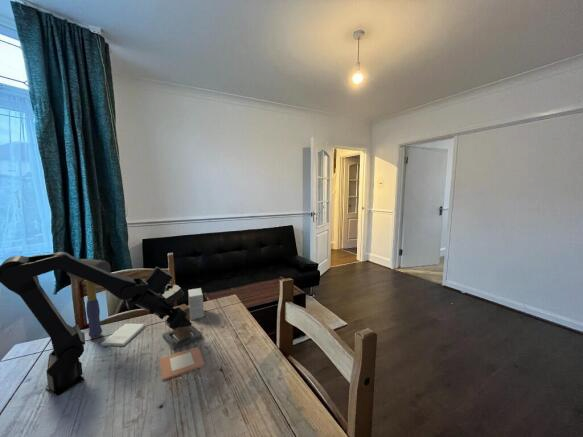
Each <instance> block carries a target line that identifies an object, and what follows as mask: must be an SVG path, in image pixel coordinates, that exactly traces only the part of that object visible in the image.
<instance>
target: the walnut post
mask: <svg viewBox="0 0 583 437" xmlns="http://www.w3.org/2000/svg"><path fill="white" fill-rule="evenodd" d="M178 307H179V308H181V309H183V310H184V311H185V312H186V313H187V314H186V316H185V317H186V318H187V319H188V320H189V321H190V322H191V320H190V308H189V305H187V304H185V303H182V304H180V305H177V306H173V308H174V309H175V308H178ZM191 336H193V334H192V333H191V329H190V326H188V327H179V328H177V329H175V330H174V335H173V336H172V339H173V340H174V341H175V342H176V343H177V342H179V341H182V340H184V339H186V338H188V337H191Z"/></svg>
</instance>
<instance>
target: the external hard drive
mask: <svg viewBox="0 0 583 437" xmlns="http://www.w3.org/2000/svg"><path fill="white" fill-rule="evenodd" d="M145 327H146V324H145V323H124V324H123V325H122V326H121V327H120V328H118V329H117V330H116V331H115V332H114V333H112V334H111V335H110V336H108V337H107V338H105V340H103V341H102V342H101V343H100V344H101V346H104V347H105V346H106V347H107V346H110V347H111V346H113V347H124V346H125V345H127V344H128V343H129V342H130V341H131V340H132V339H133V338H134V337H135V336H136V335H138V334H139V333H140V331H142V330H143V329H144V328H145Z"/></svg>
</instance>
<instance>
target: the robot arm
mask: <svg viewBox="0 0 583 437" xmlns="http://www.w3.org/2000/svg"><path fill="white" fill-rule="evenodd" d="M80 259H81V258H77V257H75V256H73V255H71V254H69V253H68V252H66V251H59V252H58V251H57V252H54V253H48V254H47V253H46V254H45V253H44V254H38V255H37V254H36V255H31V256H24V255H14V256H10V257H8V258H7V259H5V260H4V261H3V262H2V263H1V264H0V284H1V285H3V286H4V287H5V288H6V289H7V290H9V291H11V292H12V293H14V294H16V295H18V296H19V297H20V298H21V299H22V300H23V302H24V303H25V305H26V306H27V308H28V309H29V310H30V312H31V313H32V314H33V316H34V317H35V319H36V320H37V321H38V323H39V324H40V325H41V327H42V328H43V330H44V331H45V332H46V334H47V335H48V336H49V338H50V341H51V344H52V349H53V350H52V351H51V352H50V353H49V354H48V362H47V369H45V371H46V379H47V385H45V388H44V389H45V390H47V391H49V392H50V393H52V394H53V395H55V396H56V397H57V396H60V395H62V394H63V393H65V392H66V391H68V390H70V389H71V388H73V387H75V386H76V385H78V384H80V383H81V382H84V381H85V377H84V376H83V365H82V364H83V363H82V361H80V359H79V358H81V356H83V353H84V352H85V345H86V336H85V332H83V331H82V330H81V328H80V326H79V324H75V325H74V326H71V325H70V324H68V323H67V322H66V320H65V319H64V317H63V315H61V313H60V312H59V310H58V309H57V307H56V305H55V304H54V303H53V302H52V300H51V299H50V298H49V296H48V294H47V293H46V292H45V290H44V289H43V287H42V286H41V283H40V281H39V279H40V278H39V276H41V275H43V274H44V275H45V274H47V273H50V272H53V271H57V270H61V271H63V272H66V273H67V272H68V273H71V274H73V275H75V276H78V277H80V278H83V279H85V280H84V281H86V280H88V281H90V282H93V283H95V285H98V286H100V287H102V288H103V289H105V290H107V291H108V292H109V293H110V294H112V295H113V296H115V297H116V298H117V299H119V300H121V301H125V303H126V305H125V306H126V307H127V309H128V311H131V310H132V309H133V308H134V307H135V306H137V307H139V308H141V309H143V310H145V311H147V312H149V314H150V315H155V316H156V317H158V318H159V319H161V320H164V319H165V317H166V319H165V324H166V326H167V327H169V329H171V330H175V329H177V328H179V327H188V326H191V325H193V324H192V322H191V320H190V321H189V320H188V319H187V318H186V317H185V316H186V314H187V313H186V312H185V311H184V310H183V309H181V308H179V307H178V308H175V309H174V308H173V307H175V304H176V303H175V302H177V301H178V300H180V299H181V298H183V297H184V296H185V293H184V291H183V288H182V287H180V286H179V285H177V284H173V285H172V284H170V282H172V280H173V279H174V276H173V275H172V274H170V273H169V272H167V271H166V270H165V269H162V268H160V267H159V266H155V267H154V268H153V270H152V271H151V273H150V274H149V275H148V276H147V277H146V278H144V277H136V278H135V277H133V278H132V277H130V276H127V275H123V274H120V273H119V274H118V273H112V272H110V273H109V272H107V271H104V270H102V269H100V268H98V267H96V266H93V265H91V264H89V263H87V262H84V261H82V260H80ZM162 291H164V293H163V294H161V292H162ZM167 316H168V317H167Z"/></svg>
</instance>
